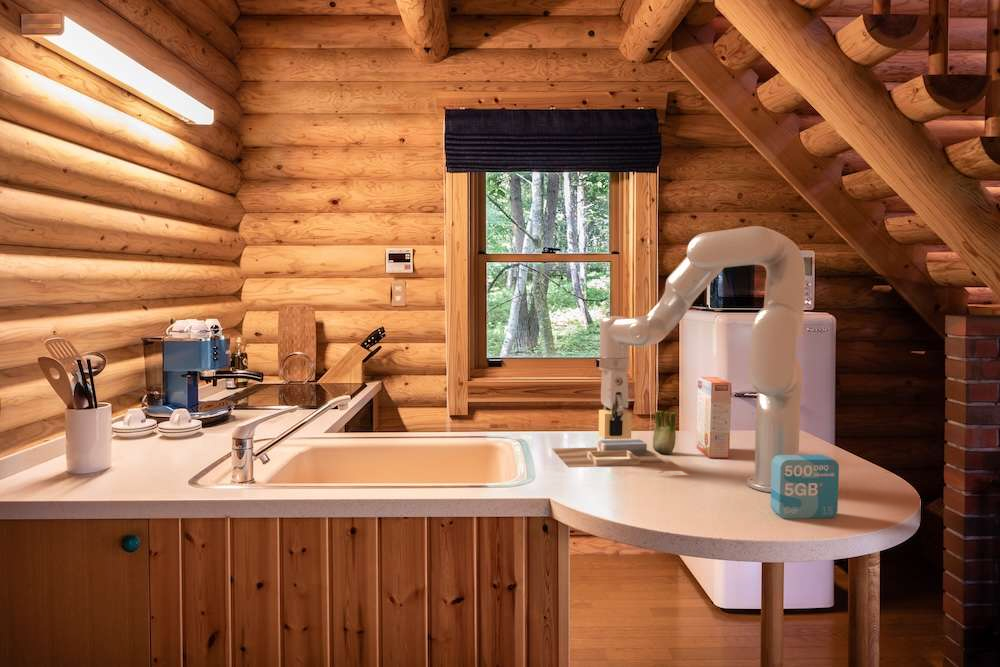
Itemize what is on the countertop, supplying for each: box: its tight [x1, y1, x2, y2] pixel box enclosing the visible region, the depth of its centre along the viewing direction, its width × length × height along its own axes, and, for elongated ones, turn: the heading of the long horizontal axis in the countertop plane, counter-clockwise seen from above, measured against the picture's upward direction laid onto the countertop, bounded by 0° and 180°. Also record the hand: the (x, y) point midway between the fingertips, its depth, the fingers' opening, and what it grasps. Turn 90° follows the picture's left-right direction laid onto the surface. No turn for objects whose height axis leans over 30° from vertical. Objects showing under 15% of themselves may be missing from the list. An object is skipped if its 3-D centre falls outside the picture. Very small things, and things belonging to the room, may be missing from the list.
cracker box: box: [696, 376, 733, 459], centre depth 206 cm, size 14×6×21 cm, turn 179°
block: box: [598, 409, 633, 440], centre depth 191 cm, size 6×7×6 cm
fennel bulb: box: [652, 410, 677, 455], centre depth 206 cm, size 6×5×12 cm
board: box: [551, 439, 669, 468], centre depth 197 cm, size 22×26×4 cm
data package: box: [770, 454, 840, 520], centre depth 149 cm, size 12×4×12 cm, turn 93°
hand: (612, 432), depth 191 cm, fingers closed on block, 6 cm apart
